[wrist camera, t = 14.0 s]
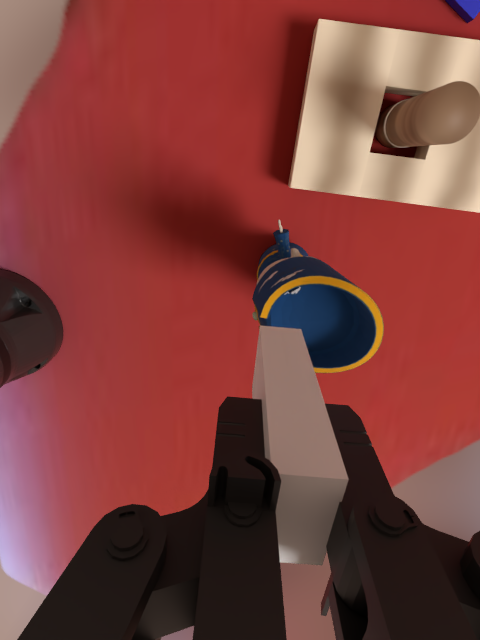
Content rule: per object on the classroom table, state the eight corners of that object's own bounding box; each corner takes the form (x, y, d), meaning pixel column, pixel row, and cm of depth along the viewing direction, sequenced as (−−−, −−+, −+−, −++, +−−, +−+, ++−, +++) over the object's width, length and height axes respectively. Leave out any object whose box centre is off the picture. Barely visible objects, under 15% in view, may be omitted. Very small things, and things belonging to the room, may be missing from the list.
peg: (370, 145, 37) (415, 141, 27) (381, 100, 36) (434, 76, 25) (408, 150, 37) (469, 148, 27) (421, 106, 36) (491, 84, 25)
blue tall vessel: (243, 217, 41) (230, 265, 23) (324, 199, 40) (378, 234, 22) (264, 316, 46) (268, 418, 28) (336, 302, 45) (389, 400, 27)
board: (288, 185, 40) (290, 187, 37) (314, 30, 34) (318, 18, 31) (464, 208, 40) (479, 212, 37) (521, 57, 34) (544, 48, 31)
